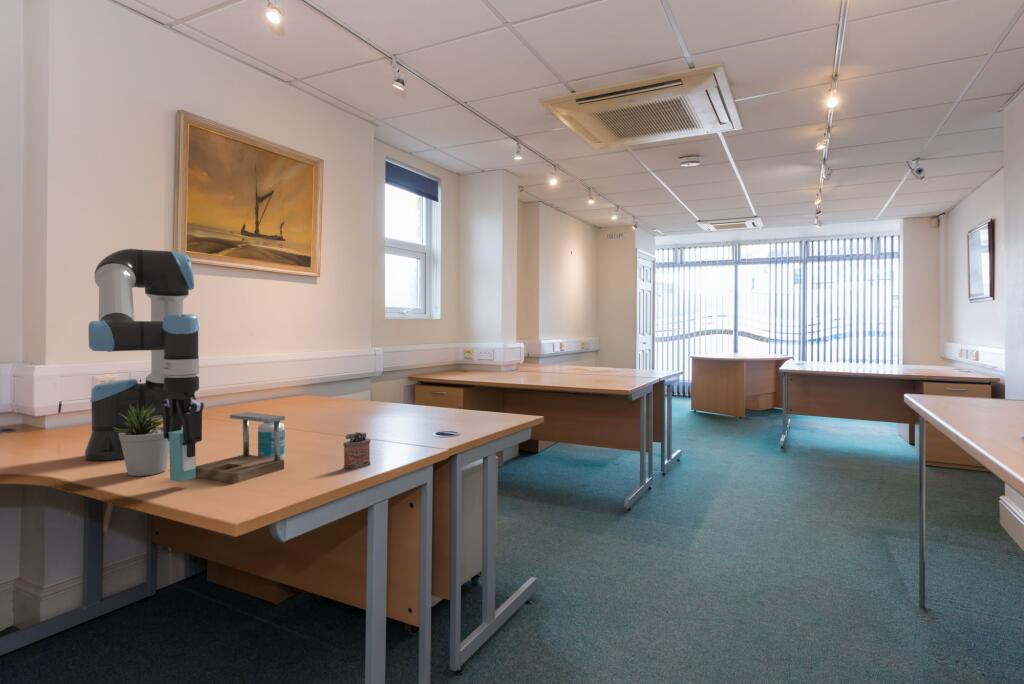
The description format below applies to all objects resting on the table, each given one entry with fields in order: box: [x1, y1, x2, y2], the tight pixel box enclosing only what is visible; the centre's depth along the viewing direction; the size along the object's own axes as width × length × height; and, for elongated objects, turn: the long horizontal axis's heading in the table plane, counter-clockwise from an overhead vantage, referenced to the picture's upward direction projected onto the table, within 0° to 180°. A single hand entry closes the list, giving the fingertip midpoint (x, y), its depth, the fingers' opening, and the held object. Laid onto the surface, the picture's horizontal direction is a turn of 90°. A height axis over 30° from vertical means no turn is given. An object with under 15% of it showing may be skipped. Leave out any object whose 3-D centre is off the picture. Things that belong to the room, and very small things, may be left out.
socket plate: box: [196, 454, 285, 484], centre depth 149 cm, size 16×16×2 cm
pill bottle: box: [257, 415, 286, 460], centre depth 162 cm, size 8×7×14 cm
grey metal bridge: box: [229, 411, 286, 461], centre depth 154 cm, size 16×6×15 cm, turn 64°
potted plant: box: [113, 404, 170, 477], centre depth 148 cm, size 13×14×20 cm
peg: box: [169, 429, 197, 483], centre depth 135 cm, size 4×4×12 cm
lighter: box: [343, 431, 371, 471], centre depth 155 cm, size 8×3×10 cm, turn 134°
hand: (182, 468), depth 135 cm, fingers closed on peg, 4 cm apart
